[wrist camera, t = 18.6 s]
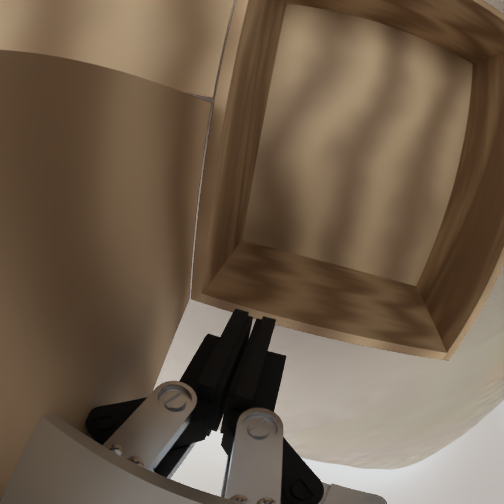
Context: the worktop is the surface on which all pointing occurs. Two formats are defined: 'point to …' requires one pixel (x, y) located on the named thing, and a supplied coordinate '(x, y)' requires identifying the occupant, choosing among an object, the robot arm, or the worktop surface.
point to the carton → (357, 170)
